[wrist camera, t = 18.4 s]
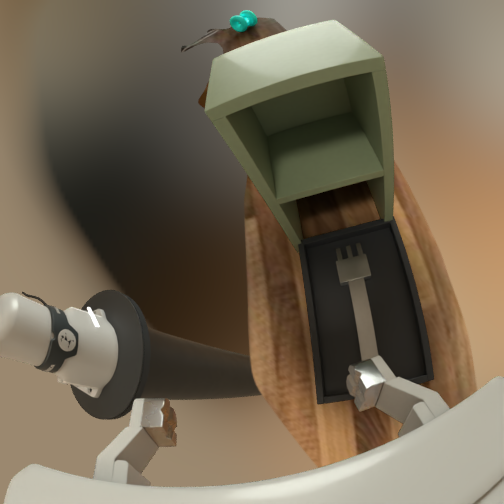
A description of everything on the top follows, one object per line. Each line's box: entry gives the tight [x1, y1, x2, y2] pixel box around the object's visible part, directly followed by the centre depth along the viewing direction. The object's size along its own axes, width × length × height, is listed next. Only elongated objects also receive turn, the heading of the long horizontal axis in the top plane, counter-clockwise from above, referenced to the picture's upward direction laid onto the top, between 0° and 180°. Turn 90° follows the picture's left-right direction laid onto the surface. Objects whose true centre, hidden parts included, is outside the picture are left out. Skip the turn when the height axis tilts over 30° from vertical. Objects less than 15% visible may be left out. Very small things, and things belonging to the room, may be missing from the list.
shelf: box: [205, 20, 394, 253], centre depth 29 cm, size 14×12×25 cm
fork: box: [336, 243, 378, 361], centre depth 30 cm, size 18×4×1 cm, turn 3°
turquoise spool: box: [230, 10, 257, 32], centre depth 94 cm, size 10×10×10 cm
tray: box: [298, 216, 434, 404], centre depth 31 cm, size 14×21×2 cm, turn 3°
